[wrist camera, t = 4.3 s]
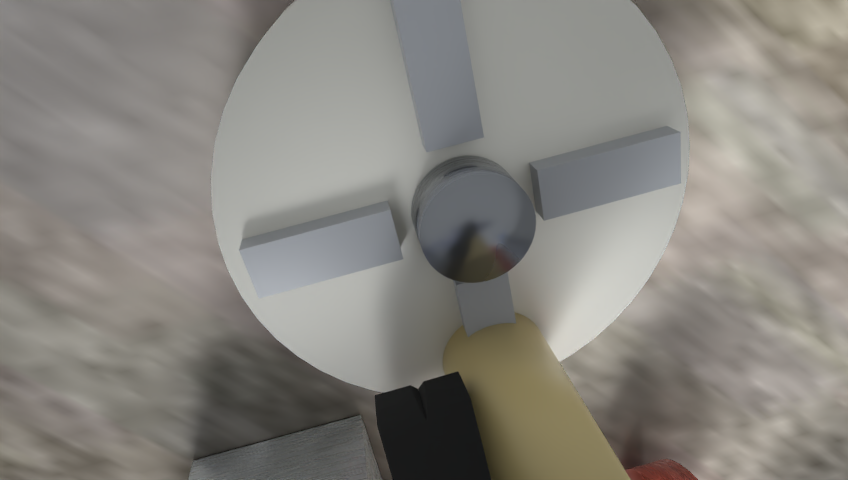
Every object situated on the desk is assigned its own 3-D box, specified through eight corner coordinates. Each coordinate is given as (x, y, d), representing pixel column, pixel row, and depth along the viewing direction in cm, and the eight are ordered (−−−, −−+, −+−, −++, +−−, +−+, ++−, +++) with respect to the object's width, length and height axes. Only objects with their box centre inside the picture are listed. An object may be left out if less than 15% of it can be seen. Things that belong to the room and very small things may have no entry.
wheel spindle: (422, 268, 10) (432, 295, 9) (401, 171, 9) (408, 191, 8) (523, 242, 10) (541, 266, 9) (510, 143, 9) (528, 160, 8)
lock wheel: (153, 4, 9) (-55, 56, 4) (624, -111, 10) (981, -195, 5) (306, 388, 13) (300, 675, 8) (643, 292, 14) (853, 503, 8)
